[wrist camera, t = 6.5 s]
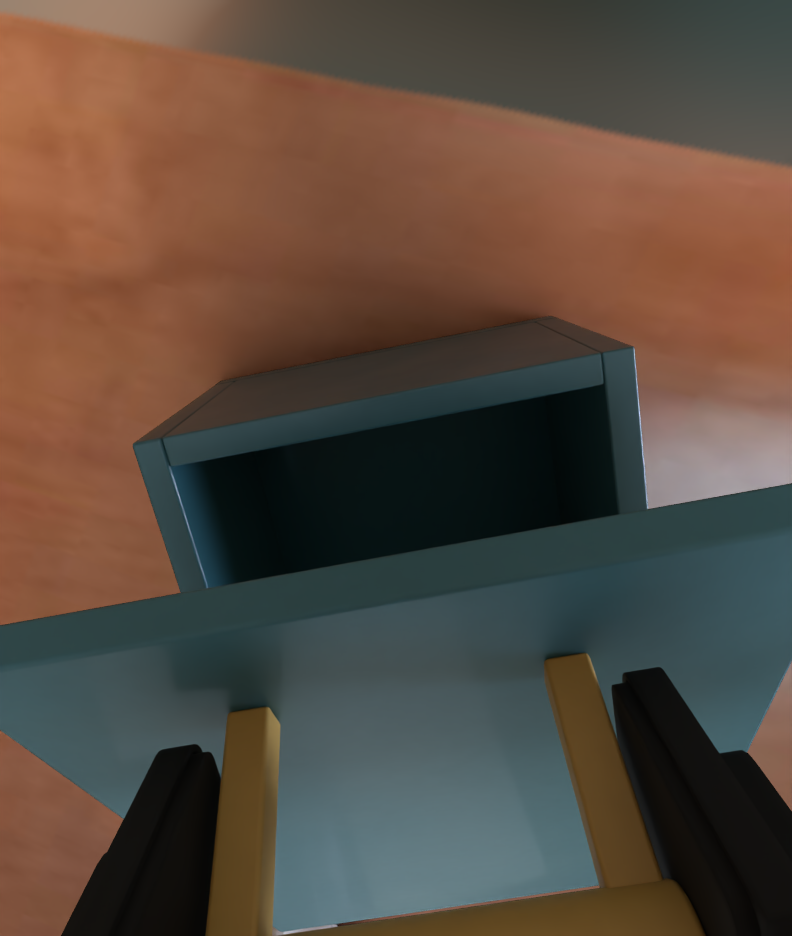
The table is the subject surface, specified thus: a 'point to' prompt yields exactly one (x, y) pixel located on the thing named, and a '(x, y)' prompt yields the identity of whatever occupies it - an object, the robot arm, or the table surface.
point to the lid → (427, 717)
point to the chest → (397, 452)
